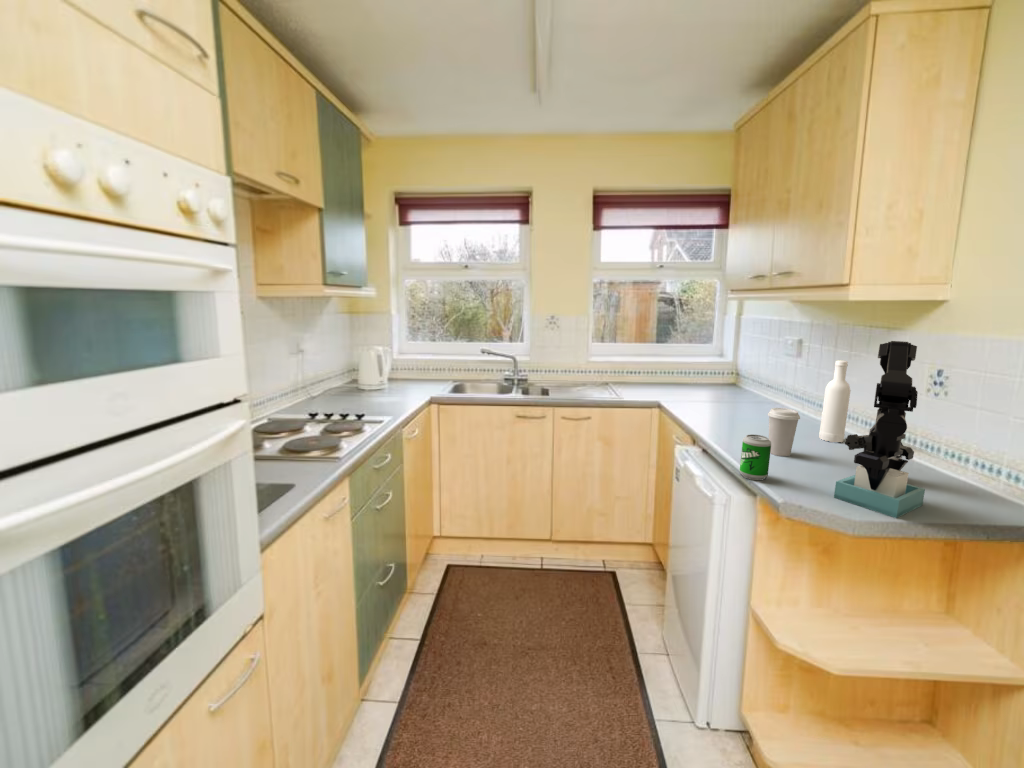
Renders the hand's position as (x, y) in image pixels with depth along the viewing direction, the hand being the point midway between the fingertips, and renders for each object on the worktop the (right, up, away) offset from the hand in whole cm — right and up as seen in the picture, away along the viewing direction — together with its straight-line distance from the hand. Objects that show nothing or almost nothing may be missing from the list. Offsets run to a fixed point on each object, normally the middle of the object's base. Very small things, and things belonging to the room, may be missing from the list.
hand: (879, 487), depth 127 cm
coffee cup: (-4, +3, +40) cm, 40 cm away
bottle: (+25, +6, +57) cm, 63 cm away
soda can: (-24, -1, +17) cm, 30 cm away
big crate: (0, -4, +1) cm, 4 cm away
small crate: (0, -1, 0) cm, 1 cm away
